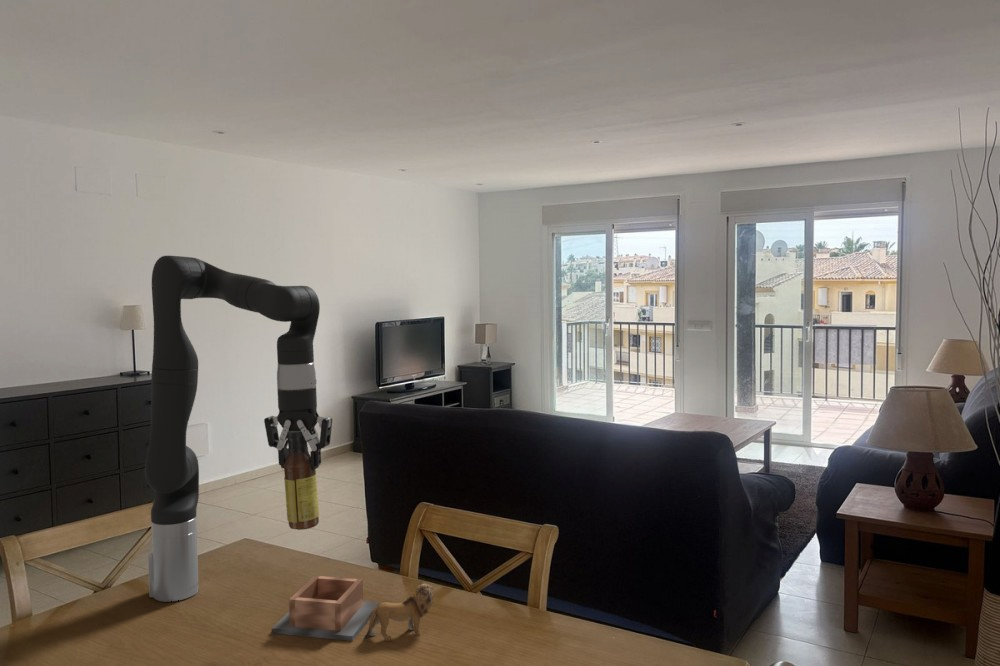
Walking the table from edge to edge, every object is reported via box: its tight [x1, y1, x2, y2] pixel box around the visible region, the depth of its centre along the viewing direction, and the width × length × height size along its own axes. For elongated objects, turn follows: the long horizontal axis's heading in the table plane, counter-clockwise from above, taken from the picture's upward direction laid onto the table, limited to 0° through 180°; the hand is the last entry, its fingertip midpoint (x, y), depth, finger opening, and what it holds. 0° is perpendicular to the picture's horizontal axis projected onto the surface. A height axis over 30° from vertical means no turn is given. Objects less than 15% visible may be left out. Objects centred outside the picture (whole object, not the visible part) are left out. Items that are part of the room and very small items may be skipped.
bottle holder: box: [271, 575, 380, 642], centre depth 149 cm, size 17×15×6 cm
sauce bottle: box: [283, 431, 320, 531], centre depth 146 cm, size 6×6×20 cm
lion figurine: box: [362, 583, 435, 642], centre depth 143 cm, size 15×5×9 cm, turn 118°
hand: (300, 467), depth 146 cm, fingers closed on sauce bottle, 6 cm apart
